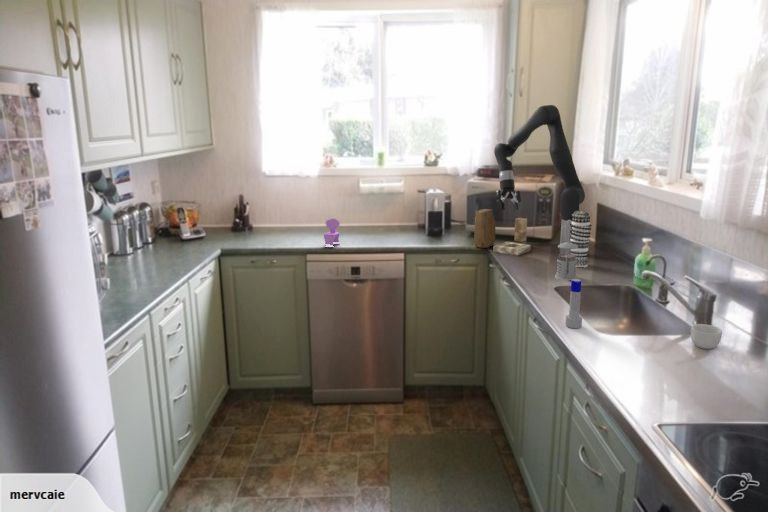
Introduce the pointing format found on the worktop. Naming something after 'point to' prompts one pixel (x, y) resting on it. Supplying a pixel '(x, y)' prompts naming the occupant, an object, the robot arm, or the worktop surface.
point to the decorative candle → (580, 237)
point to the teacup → (706, 336)
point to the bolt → (574, 305)
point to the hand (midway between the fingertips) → (509, 210)
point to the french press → (567, 261)
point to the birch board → (511, 248)
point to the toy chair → (332, 232)
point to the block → (484, 228)
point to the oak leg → (520, 230)
